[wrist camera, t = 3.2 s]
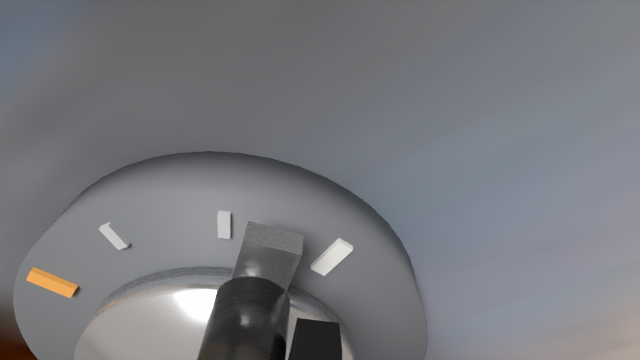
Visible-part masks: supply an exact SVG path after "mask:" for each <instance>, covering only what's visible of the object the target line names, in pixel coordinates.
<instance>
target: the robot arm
mask: <svg viewBox="0 0 640 360" xmlns="http://www.w3.org/2000/svg"><path fill="white" fill-rule="evenodd" d="M288 360H342V343H341V334H340V326H339V323H336V322H328V321H319V320H311V319H303V318H297V321H296V326H295V330H294V335H293V339H292V344H291V348H290V353H289V357H288Z"/></svg>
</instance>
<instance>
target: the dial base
mask: <svg viewBox="0 0 640 360" xmlns="http://www.w3.org/2000/svg"><path fill="white" fill-rule="evenodd" d="M248 221H251V222H255V223H258V224H262V225H266V226H270V227H274V228H278V229H282V230H285V231H289V232H293V233H297V234H301V235H303V247H302V256H301V259H300V261H299V263H298V266H297V268H296V270H295V273H294V275H293V277H292V280H291V282H290V284H289V285H291V286H294V287H296V288H298V289H300V290H301V291H303V292H305V293H307V294H309V295H311V296H312V297H314V298H315V299H317V300H318V301H320V302H321V303H323V304H324V305H325V306H326V307H328V308H329V309H330V310H331V311H332V312H333V313H334V314H335V315H336V316H337V317H338V318H339V319H340V320H341V322H342V323H343V324H344V325H345V327H346V329H347V330H348V332H349V334H350V335H351V338H352V341H353V343H354V348H355V354H356V360H424V357H425V354H426V347H427V339H428V337H427V326H426V319H425V315H424V311H423V307H422V303H421V299H420V295H419V291H418V287H417V282H416V278H415V274H414V271H413V268H412V264H411V261H410V258H409V256H408V254H407V252H406V250H405V248H404V246H403V244H402V242H401V240H400V239H399V237H398V236H397V235H396V233H395V232H394V231H393V229H392V228H391V227H390V225H389V224H388V223H387V222H386V221H385V220H384V219H383V218H382V217H381V216H380V215H379V214H378V213H377V212H376V211H375V210H374V209H373V208H372V207H371V206H370V205H368V204H367V203H365V202H364V201H363V200H361V199H360V198H359V197H357V196H356V195H355V194H353V193H352V192H351V191H349V190H347V189H345V188H344V187H342V186H340V185H338V184H336V183H335V182H333V181H331V180H329V179H327V178H325V177H323V176H321V175H318V174H316V173H313V172H311V171H308V170H306V169H304V168H301V167H299V166H295V165H292V164H288V163H285V162H281V161H277V160H274V159H270V158H265V157H259V156H253V155H247V154H241V153H227V152H209V151H208V152H191V153H177V154H172V155H166V156H161V157H155V158H150V159H147V160H144V161H141V162H137V163H134V164H131V165H128V166H125V167H123V168H121V169H119V170H117V171H115V172H113V173H111V174H109V175H107V176H105V177H102V178H101V179H100V180H98V181H97V182H95V183H94V184H93V185H91V186H90V187H88V188H87V189H86V190H84V191H83V192H82V193H81V194H80V195H79V196H78V197H77V198H76V199H75V200H74V201H73V202H72V203H71V204H70V206H69V207H68V208H67V209H66V210H65V211H64V212H63V213H62V215H61V216H60V217H59V218H58V219H57V220H56V221H55V223H54V224H53V225H52V226H51V227H50V228H49V229H48V230H47V232H46V233H45V234H44V235H43V236H42V237H41V238H40V240H39V241H38V242H37V243H36V244H35V245H34V246H33V247H32V249H31V250H30V251H29V253H28V255H27V256H26V258H25V259H24V261H23V263H22V264H21V266H20V268H19V271H18V274H17V277H16V281H15V284H14V296H13V304H14V311H15V317H16V321H17V323H18V326H19V329H20V331H21V334H22V336H23V338H24V339H25V341H26V343H27V345H28V346H29V348H30V350H31V351H32V352H33V354H34V355H35V356H36V357H37V359H38V360H74V354H75V348H76V346H77V343H78V340H79V339H80V337H81V335H82V333H83V332H84V330H85V328H86V326H87V325H88V323H89V321H90V320H91V318H92V316H93V314H94V313H95V311H96V310H97V308H98V307H99V305H100V304H101V302H102V301H103V300H104V299H105V298H106V297H108V296H109V295H110V294H111V293H112V292H113V291H115V290H116V289H118V288H119V287H121V286H122V285H124V284H126V283H129V282H131V281H133V280H135V279H137V278H140V277H143V276H146V275H149V274H153V273H156V272H161V271H167V270H172V269H181V268H192V267H205V268H224V269H234V266H235V263H236V259H237V256H238V253H239V249H240V246H241V243H242V239H243V236H244V233H245V229H246V226H247V223H248Z"/></svg>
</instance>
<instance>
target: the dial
mask: <svg viewBox="0 0 640 360" xmlns="http://www.w3.org/2000/svg"><path fill="white" fill-rule="evenodd" d="M302 247H303V235H301V234H297V233H293V232H289V231H285V230H282V229H278V228H274V227H270V226H266V225H262V224H258V223H255V222H251V221H248V223H247V226H246V229H245V233H244V236H243V239H242V243H241V246H240V249H239V253H238V256H237V259H236V263H235V266H234V269H224V268H205V267H192V268H181V269H172V270H167V271H161V272H156V273H153V274H149V275H146V276H143V277H140V278H137V279H135V280H133V281H131V282H129V283H126V284H124V285H122V286H121V287H119V288H118V289H116V290H115V291H113V292H112V293H111V294H110V295H109V296H108V297H106V298H105V299H104V300H103V301H102V302H101V304H100V305H99V307H98V308H97V310H96V311H95V313H94V314H93V316H92V318H91V320H90V321H89V323H88V325H87V326H86V328H85V330H84V332H83V333H82V335H81V337H80V339H79V340H78V343H77V346H76V348H75V354H74V360H288V357H289V353H290V348H291V344H292V339H293V335H294V330H295V326H296V321H297V318H303V319H311V320H319V321H328V322H336V323H339V326H340V334H341V343H342V360H356V354H355V348H354V343H353V341H352V338H351V335H350V334H349V332H348V330H347V329H346V327H345V325H344V324H343V323H342V322H341V320H340V319H339V318H338V317H337V316H336V315H335V314H334V313H333V312H332V311H331V310H330V309H329V308H328V307H326V306H325V305H324V304H323V303H321V302H320V301H318V300H317V299H315V298H314V297H312V296H311V295H309V294H307V293H305V292H303V291H301V290H300V289H298V288H296V287H294V286H291V285H289V284H290V282H291V280H292V277H293V275H294V273H295V270H296V268H297V266H298V263H299V261H300V259H301V256H302Z"/></svg>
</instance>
